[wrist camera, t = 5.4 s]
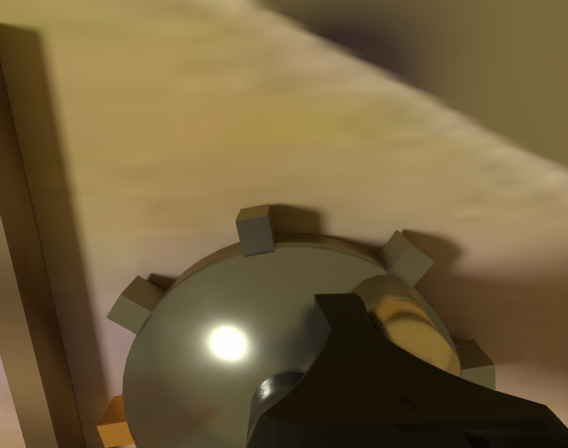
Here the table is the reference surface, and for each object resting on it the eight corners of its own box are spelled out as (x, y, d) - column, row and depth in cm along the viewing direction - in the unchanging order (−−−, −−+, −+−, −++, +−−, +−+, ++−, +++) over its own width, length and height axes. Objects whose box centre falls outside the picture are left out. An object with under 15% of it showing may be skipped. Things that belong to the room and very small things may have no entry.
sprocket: (329, 557, 18) (346, 723, 13) (48, 417, 15) (-59, 555, 11) (552, 338, 14) (686, 451, 10) (236, 118, 12) (205, 121, 7)
